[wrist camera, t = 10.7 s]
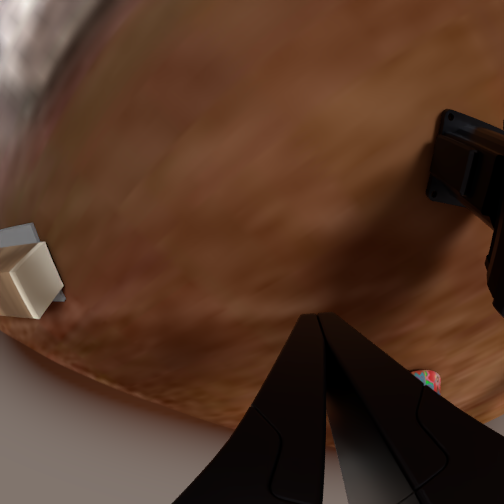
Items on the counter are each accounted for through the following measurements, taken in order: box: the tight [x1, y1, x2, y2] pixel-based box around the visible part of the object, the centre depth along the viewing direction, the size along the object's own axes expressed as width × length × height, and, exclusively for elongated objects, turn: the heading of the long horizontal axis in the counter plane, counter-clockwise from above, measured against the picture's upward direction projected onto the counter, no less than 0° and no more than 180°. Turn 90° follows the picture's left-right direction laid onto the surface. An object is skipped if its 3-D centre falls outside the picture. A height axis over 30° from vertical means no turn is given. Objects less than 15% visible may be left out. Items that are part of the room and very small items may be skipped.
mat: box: [0, 223, 66, 301], centre depth 23 cm, size 11×8×1 cm
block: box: [0, 242, 64, 319], centre depth 21 cm, size 4×4×10 cm
